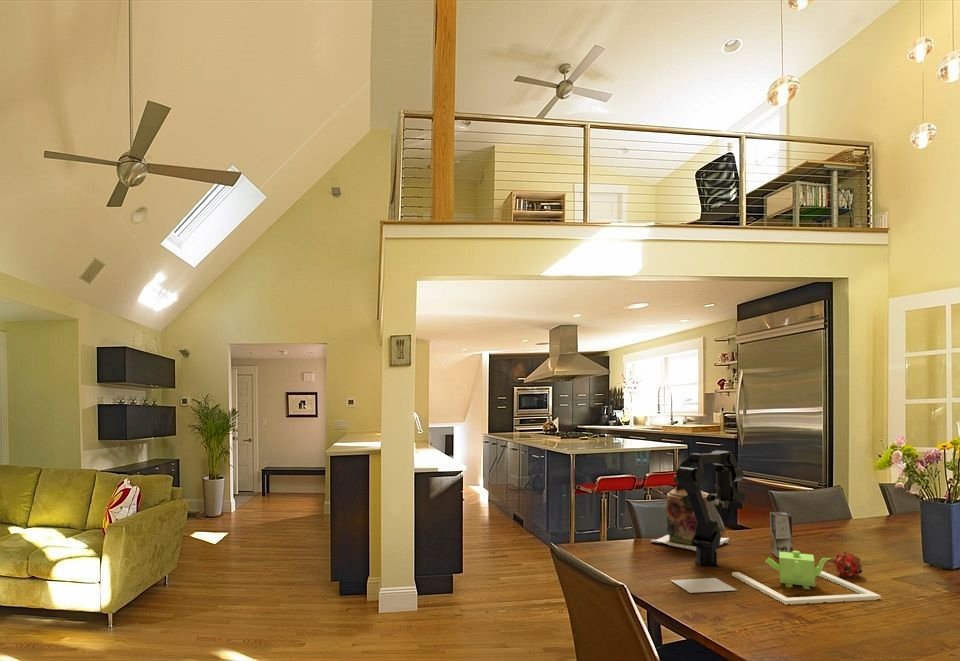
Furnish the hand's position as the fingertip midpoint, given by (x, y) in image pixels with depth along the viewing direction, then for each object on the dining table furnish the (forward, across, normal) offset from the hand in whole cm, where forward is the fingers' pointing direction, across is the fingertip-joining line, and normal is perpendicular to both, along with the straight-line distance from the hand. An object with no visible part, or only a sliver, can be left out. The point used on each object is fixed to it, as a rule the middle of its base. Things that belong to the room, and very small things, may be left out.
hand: (725, 523), depth 260 cm
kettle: (+13, -37, -6) cm, 40 cm away
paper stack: (+14, -38, +29) cm, 50 cm away
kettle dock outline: (+13, -39, -7) cm, 41 cm away
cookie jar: (+13, +25, +4) cm, 28 cm away
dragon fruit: (+13, -29, -30) cm, 44 cm away
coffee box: (+13, +1, -24) cm, 27 cm away
